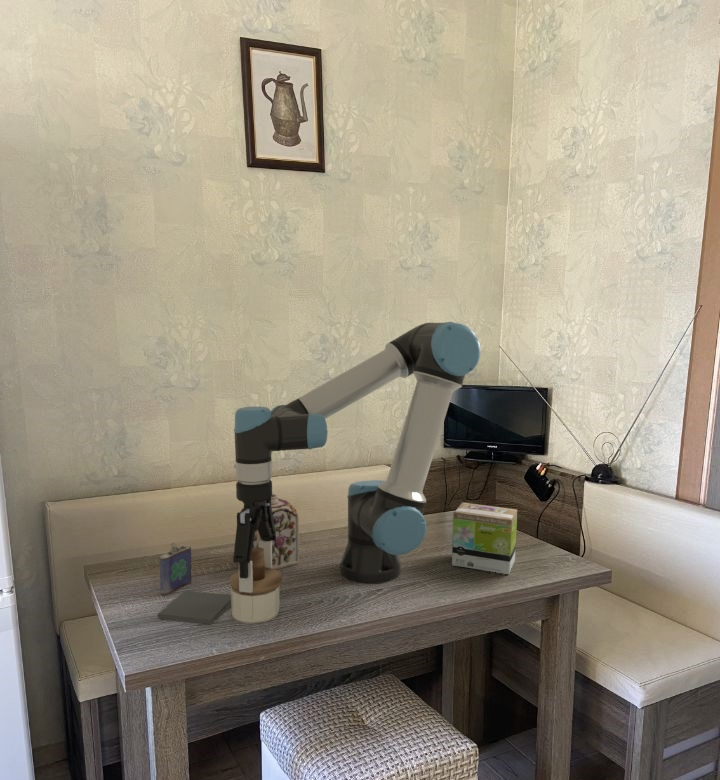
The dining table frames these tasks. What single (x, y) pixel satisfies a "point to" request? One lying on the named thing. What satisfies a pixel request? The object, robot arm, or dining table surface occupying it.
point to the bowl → (254, 606)
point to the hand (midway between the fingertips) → (256, 580)
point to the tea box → (484, 537)
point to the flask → (175, 569)
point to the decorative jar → (283, 534)
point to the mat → (196, 607)
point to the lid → (259, 574)
